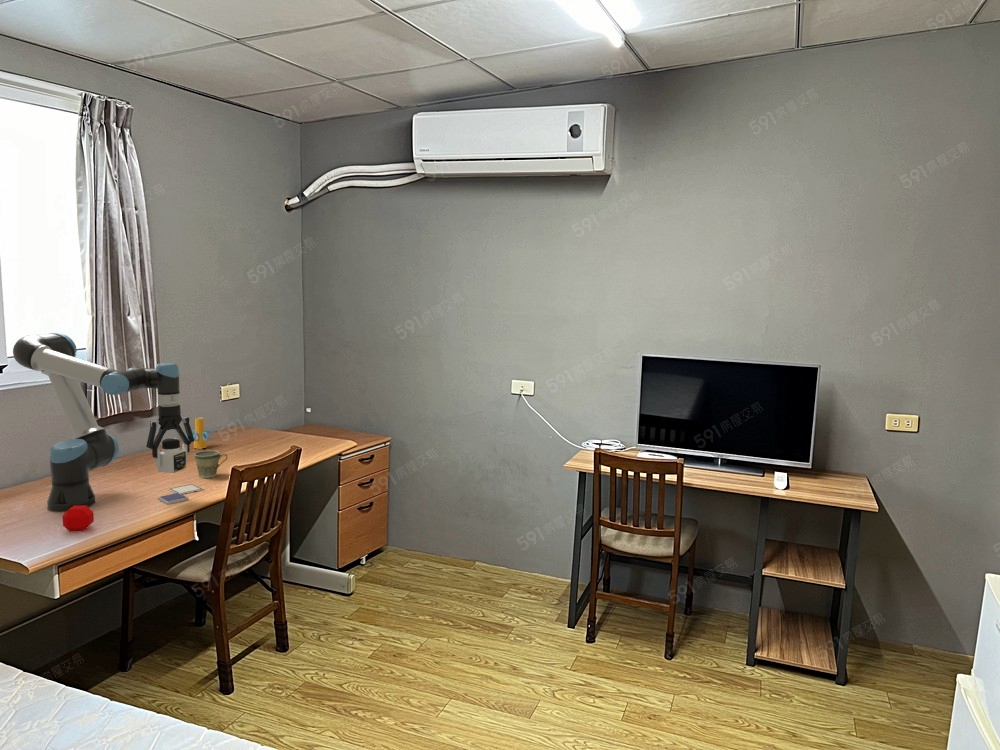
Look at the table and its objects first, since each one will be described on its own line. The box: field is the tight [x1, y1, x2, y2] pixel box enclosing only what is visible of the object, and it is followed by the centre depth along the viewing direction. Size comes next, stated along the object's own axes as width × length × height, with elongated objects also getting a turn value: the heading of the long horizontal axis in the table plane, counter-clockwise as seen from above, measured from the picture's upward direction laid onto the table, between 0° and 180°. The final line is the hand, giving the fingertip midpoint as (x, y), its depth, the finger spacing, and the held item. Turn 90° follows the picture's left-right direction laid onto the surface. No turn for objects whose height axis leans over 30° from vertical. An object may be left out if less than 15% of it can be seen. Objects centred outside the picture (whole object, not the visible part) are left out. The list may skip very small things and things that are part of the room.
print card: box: [167, 483, 204, 495], centre depth 282 cm, size 10×10×1 cm
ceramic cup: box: [193, 449, 228, 479], centre depth 302 cm, size 13×10×10 cm
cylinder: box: [185, 417, 214, 449], centre depth 348 cm, size 12×10×15 cm
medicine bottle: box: [157, 437, 187, 474], centre depth 267 cm, size 7×7×12 cm
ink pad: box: [157, 493, 189, 505], centre depth 270 cm, size 8×8×1 cm
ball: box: [62, 505, 95, 533], centre depth 236 cm, size 8×8×8 cm
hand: (171, 463), depth 268 cm, fingers closed on medicine bottle, 9 cm apart
